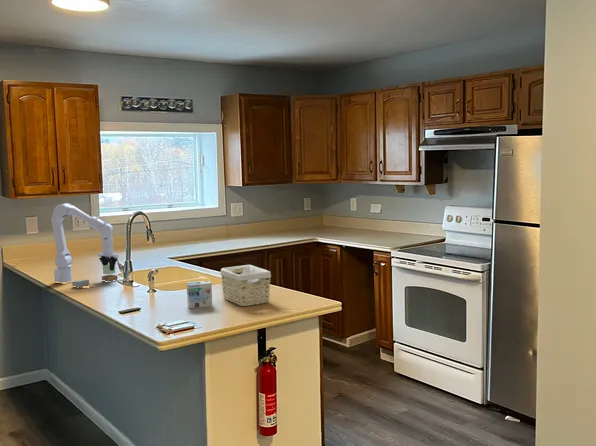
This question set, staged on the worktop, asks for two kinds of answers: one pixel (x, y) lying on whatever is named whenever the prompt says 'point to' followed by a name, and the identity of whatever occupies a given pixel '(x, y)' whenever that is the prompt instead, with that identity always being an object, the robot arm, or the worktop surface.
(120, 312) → the worktop surface
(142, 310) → the worktop surface
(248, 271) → the storage basket
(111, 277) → the walnut block
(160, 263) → the worktop surface
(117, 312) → the worktop surface
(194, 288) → the light bulb box
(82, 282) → the slate block
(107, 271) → the sage cube
